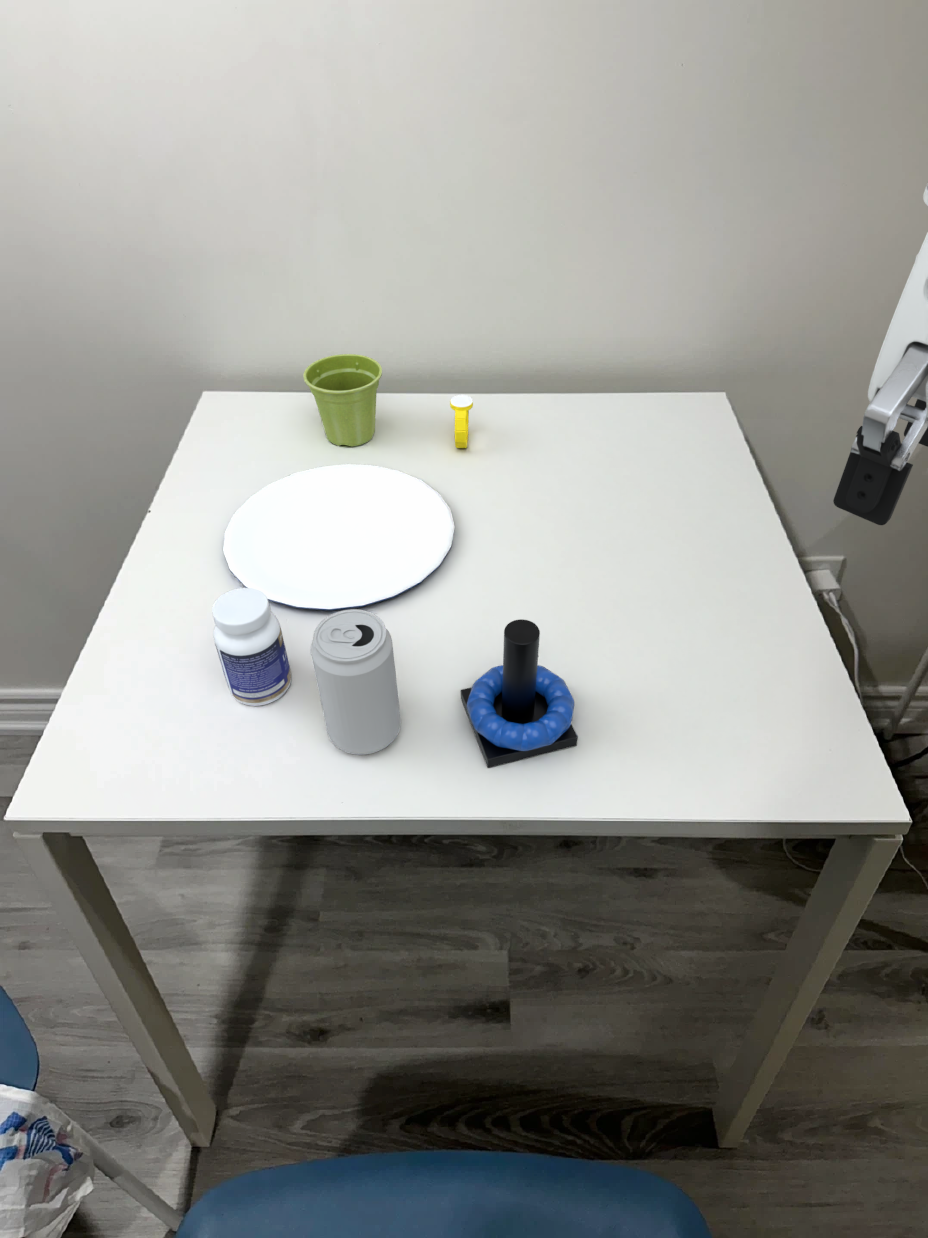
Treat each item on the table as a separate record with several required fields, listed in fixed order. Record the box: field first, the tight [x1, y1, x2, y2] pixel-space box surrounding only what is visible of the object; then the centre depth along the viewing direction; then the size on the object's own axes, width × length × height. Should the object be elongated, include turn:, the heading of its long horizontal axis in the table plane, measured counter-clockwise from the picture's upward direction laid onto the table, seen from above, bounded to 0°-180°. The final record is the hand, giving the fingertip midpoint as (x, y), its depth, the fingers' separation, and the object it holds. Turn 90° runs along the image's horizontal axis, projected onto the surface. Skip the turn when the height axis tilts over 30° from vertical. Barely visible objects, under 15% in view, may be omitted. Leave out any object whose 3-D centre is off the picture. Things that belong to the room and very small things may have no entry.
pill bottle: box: [211, 587, 292, 707], centre depth 74 cm, size 6×6×10 cm
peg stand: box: [460, 618, 579, 769], centre depth 70 cm, size 8×8×11 cm
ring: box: [467, 664, 575, 751], centre depth 73 cm, size 9×9×2 cm
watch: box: [449, 394, 474, 449], centre depth 104 cm, size 6×3×6 cm, turn 177°
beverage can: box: [310, 608, 402, 756], centre depth 70 cm, size 6×6×12 cm
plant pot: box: [302, 353, 383, 447], centre depth 105 cm, size 9×9×9 cm
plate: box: [222, 463, 456, 611], centre depth 93 cm, size 25×25×1 cm
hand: (895, 477), depth 52 cm, fingers open, 9 cm apart
